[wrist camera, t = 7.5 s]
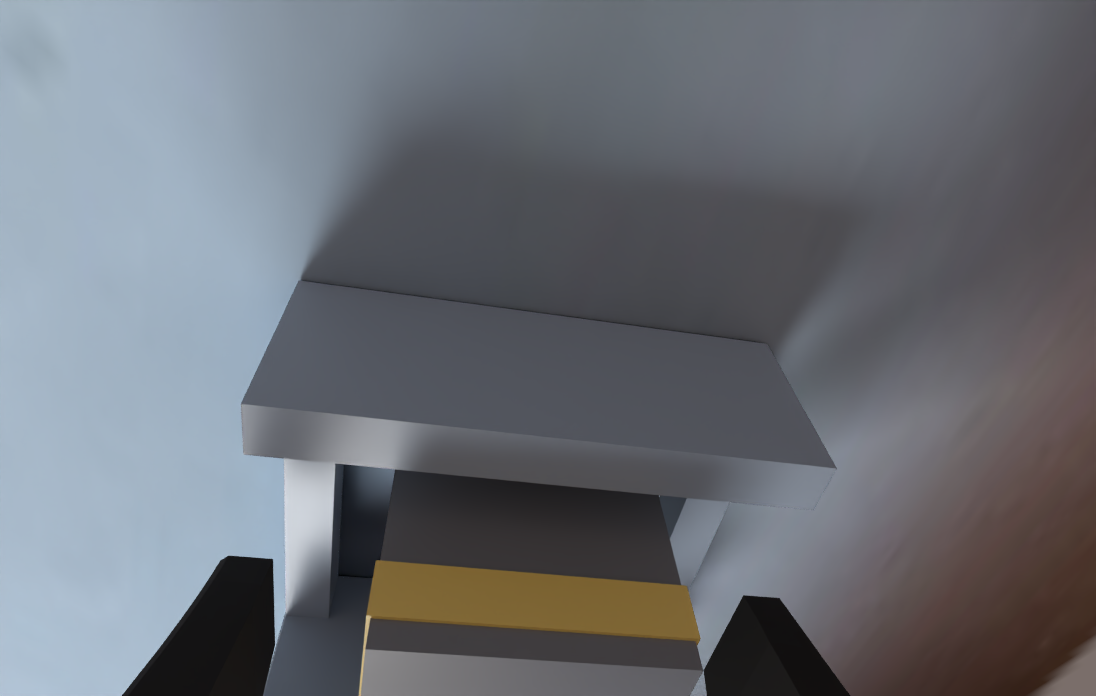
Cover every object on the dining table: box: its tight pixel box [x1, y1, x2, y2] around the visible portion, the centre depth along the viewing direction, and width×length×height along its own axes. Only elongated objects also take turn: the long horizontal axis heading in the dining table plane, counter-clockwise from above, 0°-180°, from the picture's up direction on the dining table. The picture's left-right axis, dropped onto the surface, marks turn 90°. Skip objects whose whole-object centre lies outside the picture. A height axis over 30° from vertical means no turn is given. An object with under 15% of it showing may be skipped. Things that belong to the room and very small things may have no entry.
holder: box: [241, 281, 837, 696], centre depth 12 cm, size 8×8×3 cm
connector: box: [359, 469, 703, 696], centre depth 12 cm, size 4×4×5 cm
